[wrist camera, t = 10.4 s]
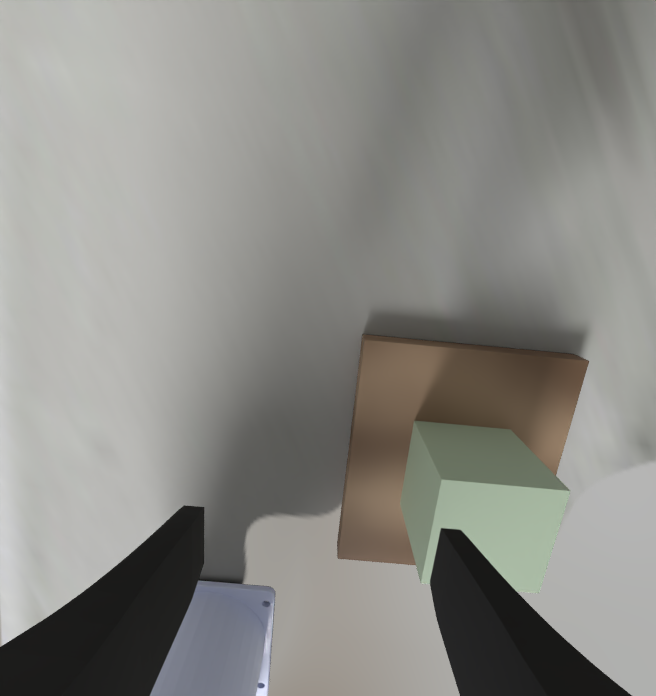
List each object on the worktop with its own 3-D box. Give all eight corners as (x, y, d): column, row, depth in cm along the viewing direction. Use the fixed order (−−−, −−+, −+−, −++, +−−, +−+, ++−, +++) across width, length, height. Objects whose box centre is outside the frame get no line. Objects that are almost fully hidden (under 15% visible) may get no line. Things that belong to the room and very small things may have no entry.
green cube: (490, 511, 20) (539, 593, 16) (399, 503, 20) (421, 583, 16) (510, 429, 19) (570, 491, 14) (414, 420, 19) (441, 479, 14)
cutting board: (516, 558, 23) (526, 574, 22) (337, 542, 23) (337, 558, 21) (573, 354, 19) (589, 360, 18) (362, 334, 19) (364, 339, 18)
